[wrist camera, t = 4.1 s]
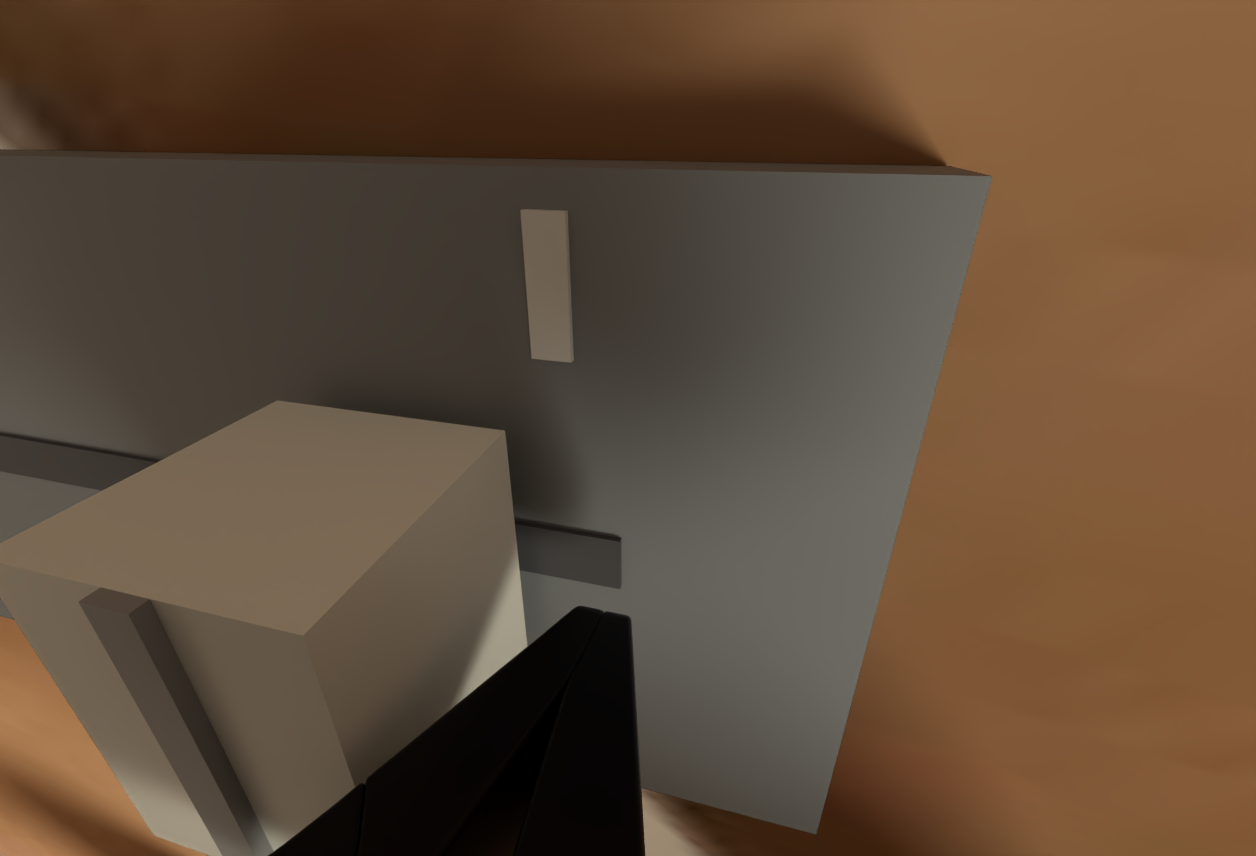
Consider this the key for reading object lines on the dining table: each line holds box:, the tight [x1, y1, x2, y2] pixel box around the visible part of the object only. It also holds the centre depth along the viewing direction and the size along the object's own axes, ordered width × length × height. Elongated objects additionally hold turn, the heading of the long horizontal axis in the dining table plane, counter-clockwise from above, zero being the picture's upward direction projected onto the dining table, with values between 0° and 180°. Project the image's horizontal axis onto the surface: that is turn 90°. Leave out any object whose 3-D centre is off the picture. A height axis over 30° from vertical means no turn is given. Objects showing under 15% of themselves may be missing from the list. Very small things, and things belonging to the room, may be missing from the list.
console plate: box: [0, 150, 992, 835], centre depth 13 cm, size 12×26×2 cm, turn 90°
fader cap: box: [0, 400, 527, 856], centre depth 8 cm, size 5×4×4 cm
